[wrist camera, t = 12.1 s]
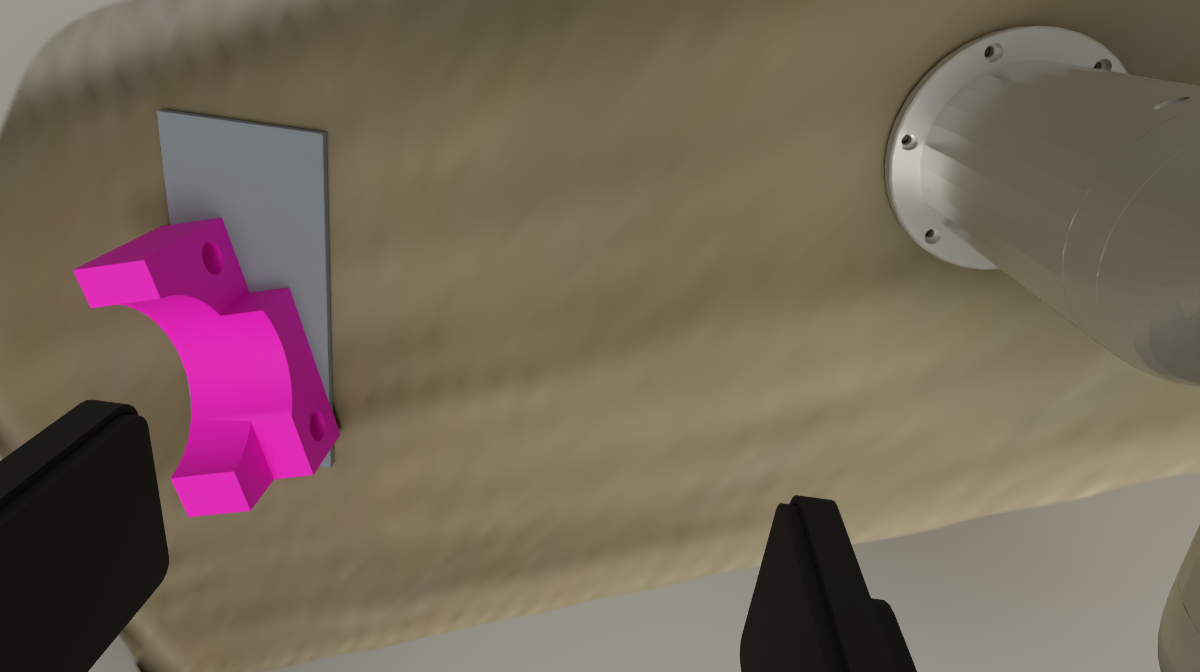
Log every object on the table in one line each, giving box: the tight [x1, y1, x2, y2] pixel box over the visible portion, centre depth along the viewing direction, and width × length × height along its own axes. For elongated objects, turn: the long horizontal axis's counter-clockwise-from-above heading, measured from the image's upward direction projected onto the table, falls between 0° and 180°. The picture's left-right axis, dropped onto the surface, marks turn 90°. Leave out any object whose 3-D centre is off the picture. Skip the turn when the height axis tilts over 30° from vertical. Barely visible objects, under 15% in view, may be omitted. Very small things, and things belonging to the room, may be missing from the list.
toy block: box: [73, 218, 340, 517], centre depth 43 cm, size 15×6×8 cm, turn 9°
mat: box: [157, 109, 334, 468], centre depth 45 cm, size 9×22×1 cm, turn 173°
